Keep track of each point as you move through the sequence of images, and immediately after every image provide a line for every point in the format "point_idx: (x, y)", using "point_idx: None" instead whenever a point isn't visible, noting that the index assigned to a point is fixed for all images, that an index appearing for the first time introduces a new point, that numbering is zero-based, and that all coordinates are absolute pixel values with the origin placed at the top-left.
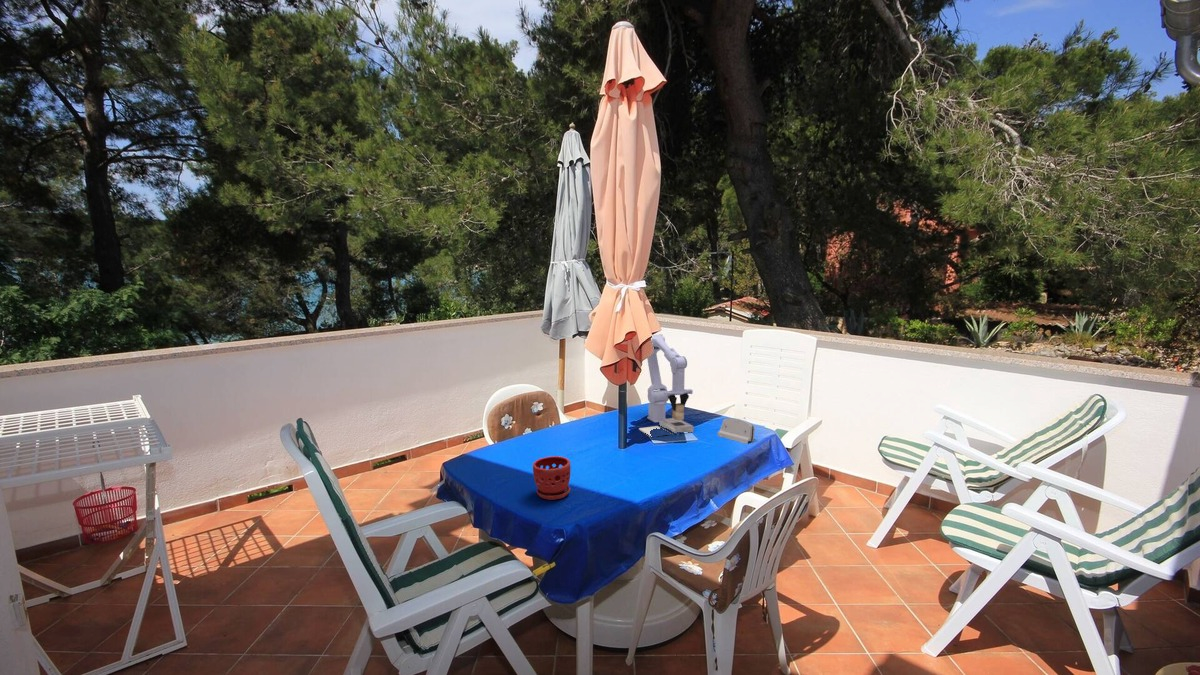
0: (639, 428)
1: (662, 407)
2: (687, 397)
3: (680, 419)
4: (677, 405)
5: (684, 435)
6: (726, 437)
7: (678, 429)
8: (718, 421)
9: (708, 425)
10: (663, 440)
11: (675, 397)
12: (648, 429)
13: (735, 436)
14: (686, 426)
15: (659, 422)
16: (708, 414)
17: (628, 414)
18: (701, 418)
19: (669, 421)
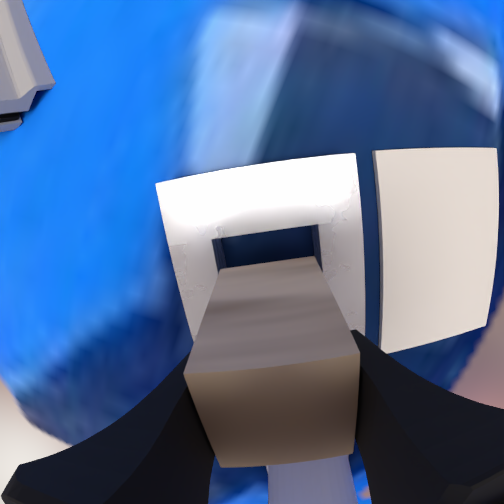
0: (485, 322)
1: (304, 498)
2: (44, 473)
3: (261, 264)
4: (325, 375)
5: (269, 118)
6: (33, 41)
7: (314, 157)
8: (10, 342)
9: (49, 301)
10: (445, 72)
11: (500, 479)
12: (461, 295)
13: (8, 12)
14: (221, 189)
15: None
16: (52, 432)
17: None
18: (77, 409)
19: None
